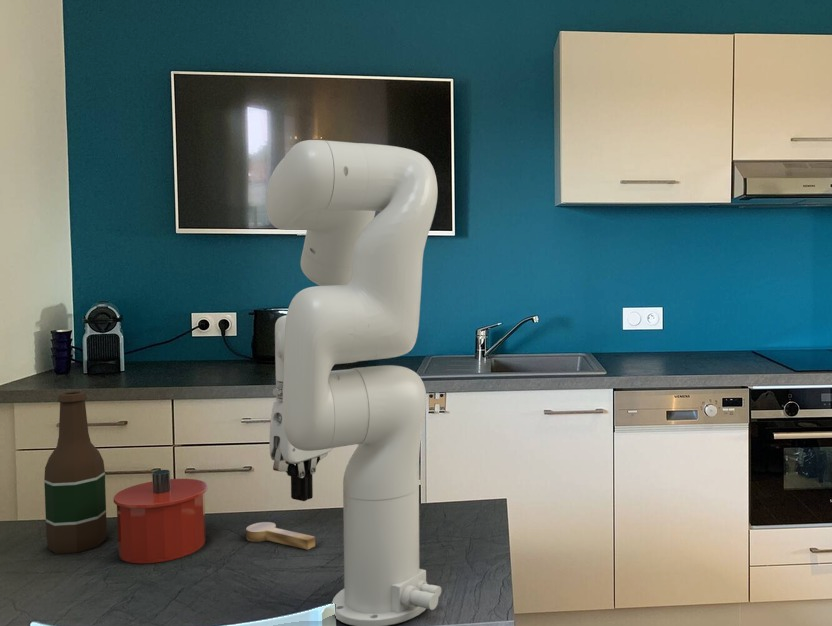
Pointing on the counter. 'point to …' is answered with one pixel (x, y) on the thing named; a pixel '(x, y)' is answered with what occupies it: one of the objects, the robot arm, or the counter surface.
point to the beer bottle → (74, 483)
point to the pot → (161, 531)
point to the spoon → (278, 535)
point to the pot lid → (160, 492)
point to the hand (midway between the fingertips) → (301, 498)
